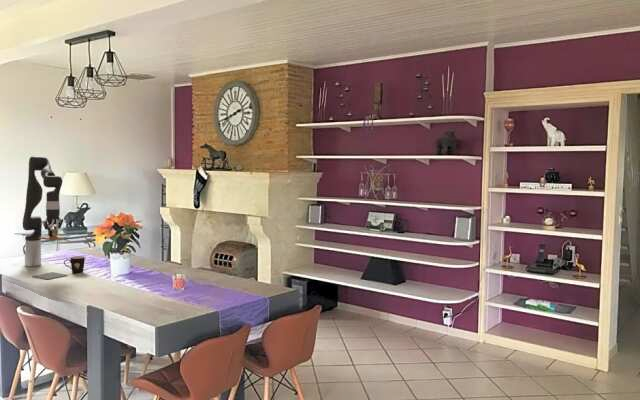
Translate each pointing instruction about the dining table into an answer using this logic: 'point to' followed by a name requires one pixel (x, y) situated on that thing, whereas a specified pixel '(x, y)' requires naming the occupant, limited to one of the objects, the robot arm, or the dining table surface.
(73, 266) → the coffee mug
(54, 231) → the lid
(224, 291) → the dining table surface
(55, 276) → the mat
